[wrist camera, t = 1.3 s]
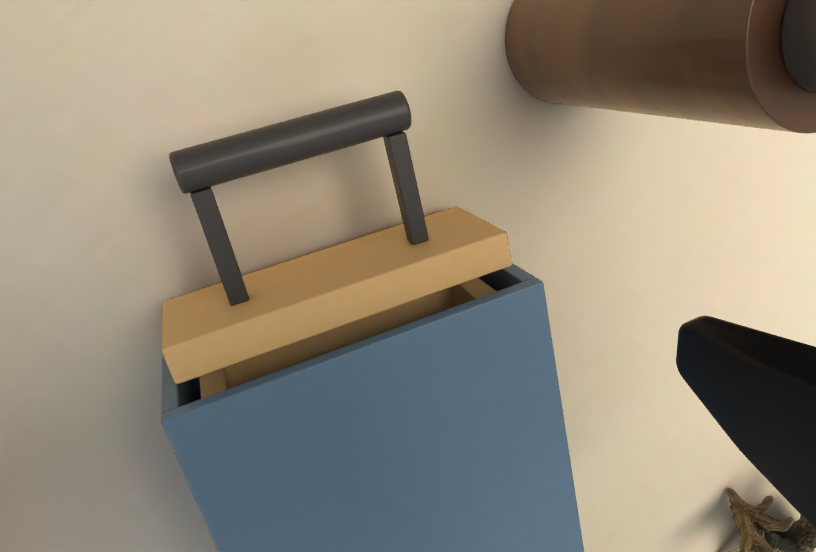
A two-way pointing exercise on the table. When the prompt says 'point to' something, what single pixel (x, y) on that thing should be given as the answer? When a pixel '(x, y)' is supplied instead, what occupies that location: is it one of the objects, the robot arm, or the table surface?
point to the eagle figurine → (769, 529)
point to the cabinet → (392, 440)
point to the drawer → (319, 257)
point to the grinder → (672, 58)
